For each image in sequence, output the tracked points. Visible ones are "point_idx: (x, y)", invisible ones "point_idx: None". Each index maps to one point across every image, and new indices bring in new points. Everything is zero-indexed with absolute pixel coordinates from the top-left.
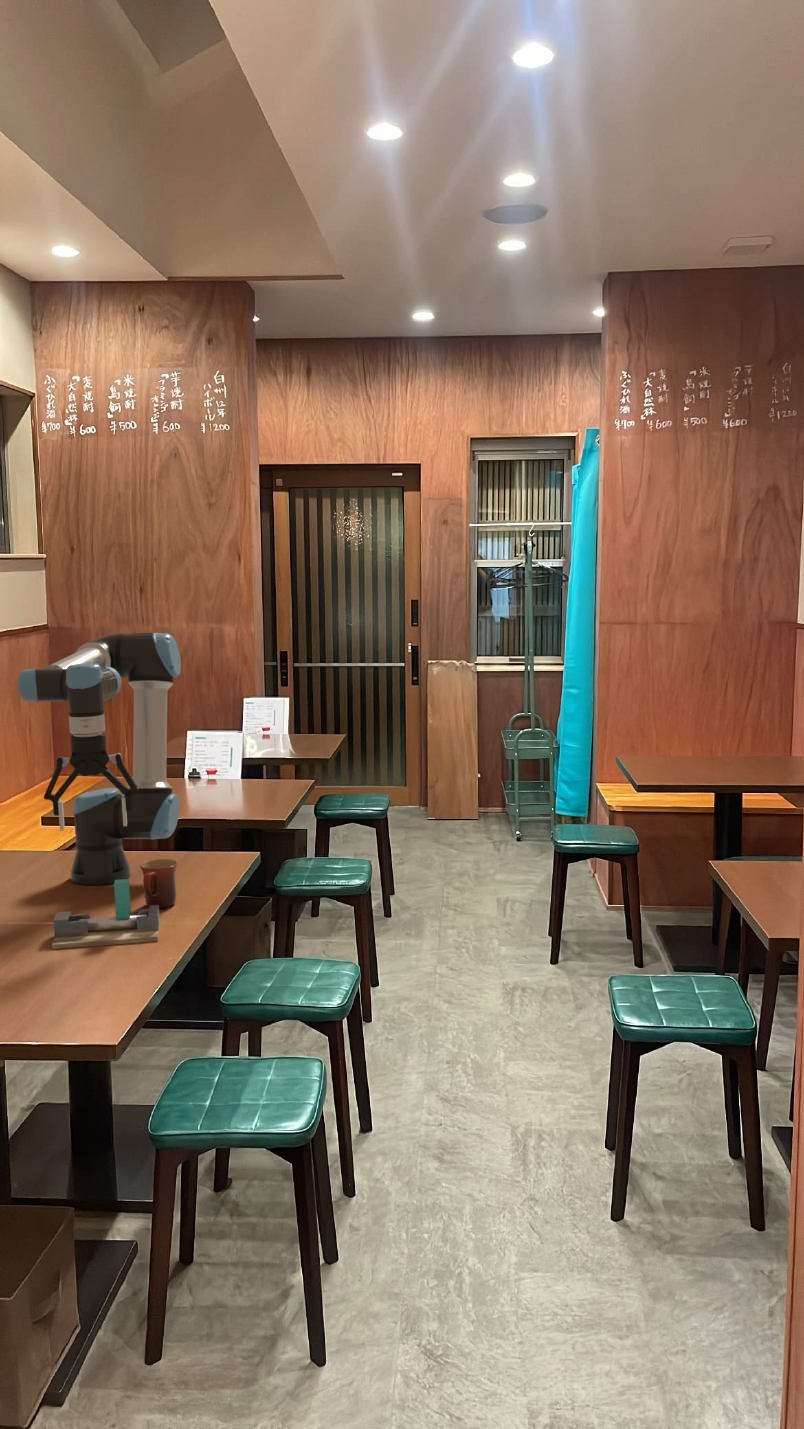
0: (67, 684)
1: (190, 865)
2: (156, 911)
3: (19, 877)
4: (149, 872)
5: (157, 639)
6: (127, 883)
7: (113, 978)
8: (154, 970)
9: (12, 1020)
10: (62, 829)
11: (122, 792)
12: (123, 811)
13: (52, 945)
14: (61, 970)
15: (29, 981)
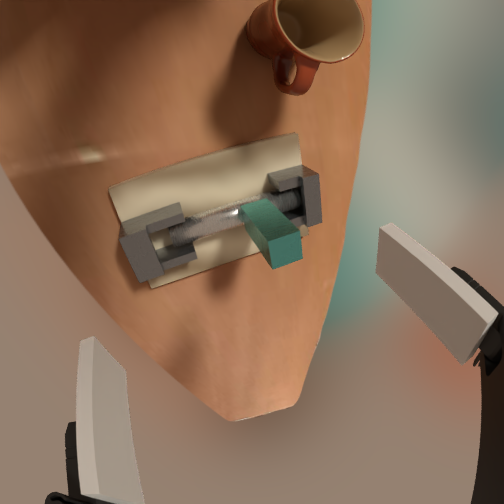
0: None
1: None
2: (319, 213)
3: None
4: (308, 71)
5: None
6: (300, 258)
7: (272, 341)
8: (311, 316)
9: (213, 409)
10: (123, 377)
11: (484, 379)
12: (422, 314)
13: (152, 287)
14: (204, 339)
15: (183, 365)
